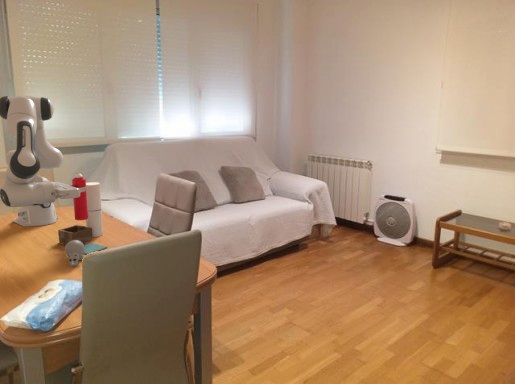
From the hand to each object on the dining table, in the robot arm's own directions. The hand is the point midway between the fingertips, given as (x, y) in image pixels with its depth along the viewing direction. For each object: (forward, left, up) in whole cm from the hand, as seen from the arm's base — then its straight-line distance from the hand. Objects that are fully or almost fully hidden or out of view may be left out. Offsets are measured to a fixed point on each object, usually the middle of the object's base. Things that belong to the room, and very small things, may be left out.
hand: (81, 187), depth 174 cm
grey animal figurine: (+12, -16, -26) cm, 33 cm away
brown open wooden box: (-8, +2, -26) cm, 28 cm away
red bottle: (0, -1, -14) cm, 14 cm away
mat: (+5, -2, -26) cm, 27 cm away
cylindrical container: (-9, +13, -26) cm, 31 cm away
